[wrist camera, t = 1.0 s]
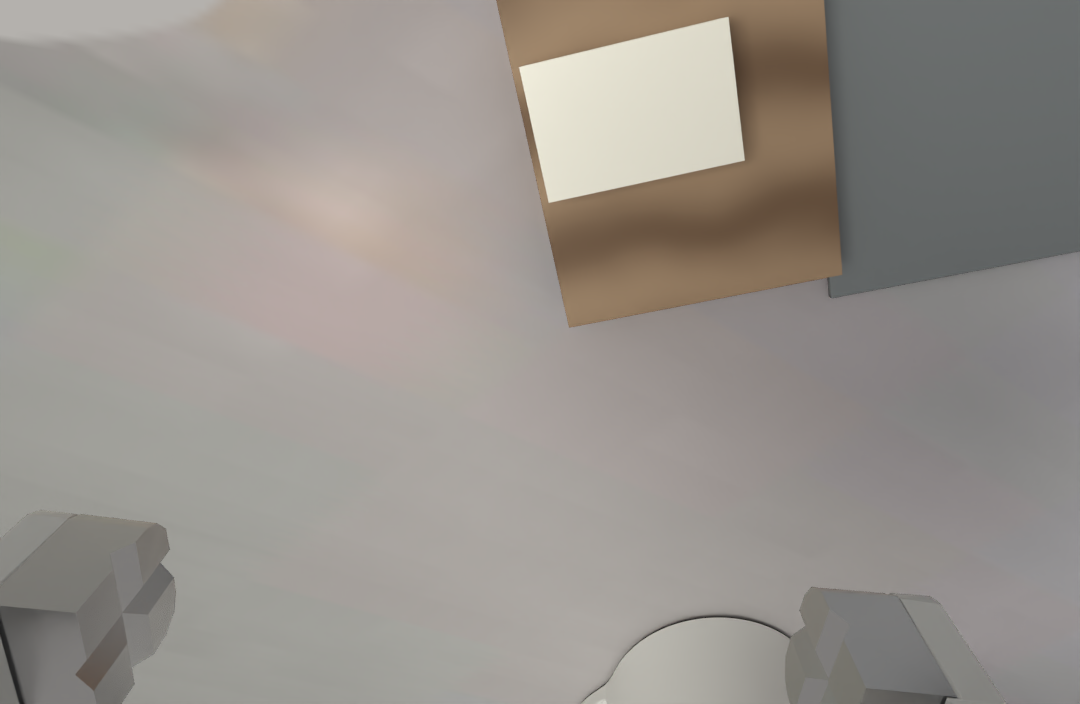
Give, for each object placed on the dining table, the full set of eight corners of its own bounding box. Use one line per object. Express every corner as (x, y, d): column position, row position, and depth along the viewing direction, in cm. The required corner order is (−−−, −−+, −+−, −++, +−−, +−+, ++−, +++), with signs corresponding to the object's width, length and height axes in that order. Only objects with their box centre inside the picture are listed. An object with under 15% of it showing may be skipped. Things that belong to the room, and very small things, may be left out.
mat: (1104, 243, 38) (1109, 245, 37) (828, 296, 39) (831, 298, 39) (1147, -337, 29) (1155, -342, 28) (789, -235, 30) (791, -239, 30)
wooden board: (826, 261, 39) (842, 274, 36) (569, 311, 40) (569, 327, 38) (793, -180, 31) (810, -197, 29) (480, -95, 33) (472, -105, 31)
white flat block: (735, 154, 34) (744, 160, 32) (550, 194, 35) (548, 203, 33) (719, 18, 32) (728, 16, 30) (522, 66, 33) (518, 67, 31)
